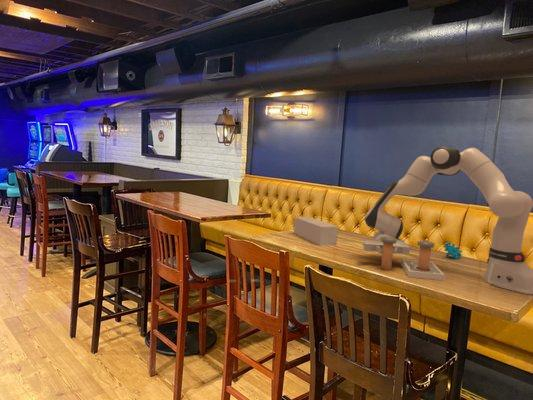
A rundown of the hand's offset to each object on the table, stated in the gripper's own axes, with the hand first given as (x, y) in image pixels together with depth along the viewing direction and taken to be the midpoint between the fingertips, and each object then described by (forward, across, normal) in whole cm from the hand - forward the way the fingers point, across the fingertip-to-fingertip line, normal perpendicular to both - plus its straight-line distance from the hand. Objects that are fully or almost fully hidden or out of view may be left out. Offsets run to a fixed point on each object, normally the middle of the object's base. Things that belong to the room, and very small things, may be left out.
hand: (387, 251), depth 177 cm
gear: (-40, +39, +10) cm, 57 cm away
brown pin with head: (-1, 0, +8) cm, 8 cm away
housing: (-1, +15, +9) cm, 17 cm away
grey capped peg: (+3, +15, +8) cm, 17 cm away
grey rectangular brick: (-56, -35, +9) cm, 66 cm away
